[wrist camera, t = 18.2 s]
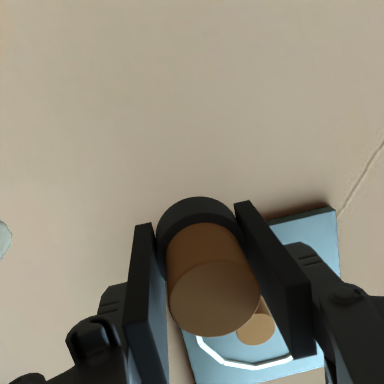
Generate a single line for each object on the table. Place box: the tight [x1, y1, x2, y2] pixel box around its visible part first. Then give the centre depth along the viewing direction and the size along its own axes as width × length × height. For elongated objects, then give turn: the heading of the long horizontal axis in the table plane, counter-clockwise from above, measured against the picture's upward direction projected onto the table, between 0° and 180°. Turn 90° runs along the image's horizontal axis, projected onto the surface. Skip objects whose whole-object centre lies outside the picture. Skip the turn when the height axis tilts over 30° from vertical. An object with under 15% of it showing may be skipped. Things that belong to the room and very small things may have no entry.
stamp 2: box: [236, 292, 275, 346], centre depth 29 cm, size 4×4×5 cm
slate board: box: [180, 206, 340, 384], centre depth 32 cm, size 16×18×1 cm
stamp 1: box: [156, 197, 260, 338], centre depth 14 cm, size 4×4×5 cm
